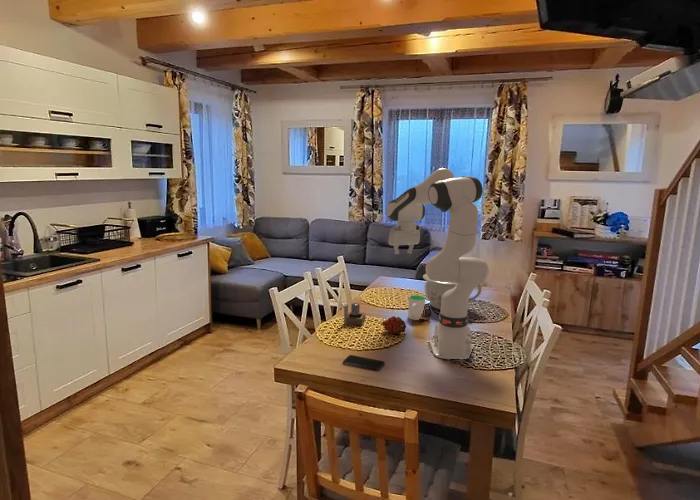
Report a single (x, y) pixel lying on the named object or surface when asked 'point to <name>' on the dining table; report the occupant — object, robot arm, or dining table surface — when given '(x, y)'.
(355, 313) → the steel toggle
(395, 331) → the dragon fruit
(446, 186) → the robot arm
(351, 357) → the phone
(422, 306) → the mug
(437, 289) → the chamber pot
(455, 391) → the dining table surface
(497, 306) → the dining table surface
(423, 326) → the dining table surface
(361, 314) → the keeper
